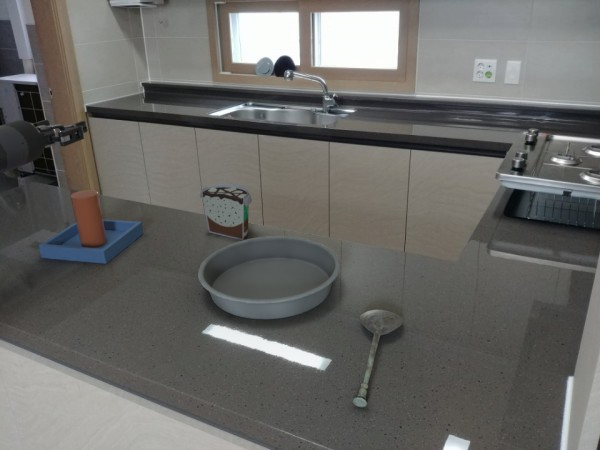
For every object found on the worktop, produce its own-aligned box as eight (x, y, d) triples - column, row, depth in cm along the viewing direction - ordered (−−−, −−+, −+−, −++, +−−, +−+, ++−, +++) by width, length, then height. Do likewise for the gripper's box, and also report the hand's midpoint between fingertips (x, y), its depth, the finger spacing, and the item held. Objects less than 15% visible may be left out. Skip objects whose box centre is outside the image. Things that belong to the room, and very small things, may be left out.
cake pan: (287, 244, 111) (286, 224, 109) (369, 291, 92) (370, 268, 91) (177, 282, 98) (174, 260, 96) (247, 345, 79) (245, 319, 77)
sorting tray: (41, 257, 109) (38, 245, 108) (85, 228, 122) (82, 217, 121) (106, 264, 105) (103, 251, 104) (143, 233, 118) (141, 221, 117)
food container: (265, 231, 117) (262, 187, 114) (249, 241, 113) (245, 197, 109) (221, 221, 123) (217, 180, 119) (203, 231, 119) (198, 188, 115)
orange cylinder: (76, 247, 112) (65, 197, 107) (90, 236, 116) (80, 189, 112) (98, 249, 110) (87, 199, 106) (111, 238, 115) (102, 190, 111)
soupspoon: (405, 320, 85) (364, 316, 87) (405, 301, 84) (363, 298, 86) (385, 412, 65) (332, 405, 67) (384, 390, 64) (331, 383, 66)
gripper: (38, 126, 90) (94, 107, 105) (-32, 124, 93) (32, 105, 108) (48, 169, 93) (101, 144, 108) (-20, 165, 97) (40, 142, 111)
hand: (66, 125), depth 108 cm, fingers open, 8 cm apart
